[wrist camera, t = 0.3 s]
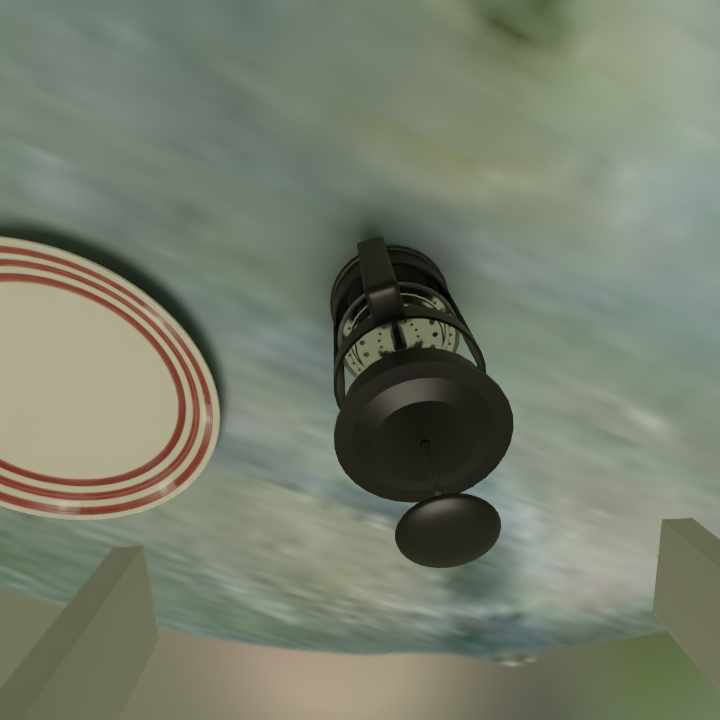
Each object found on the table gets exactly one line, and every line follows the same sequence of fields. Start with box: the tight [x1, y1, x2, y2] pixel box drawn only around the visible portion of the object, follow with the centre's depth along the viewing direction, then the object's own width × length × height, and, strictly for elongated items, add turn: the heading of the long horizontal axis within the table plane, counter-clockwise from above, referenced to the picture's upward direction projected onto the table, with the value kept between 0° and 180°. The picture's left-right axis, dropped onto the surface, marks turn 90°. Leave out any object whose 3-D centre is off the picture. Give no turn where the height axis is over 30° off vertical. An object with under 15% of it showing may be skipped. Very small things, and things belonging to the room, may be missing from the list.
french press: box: [330, 236, 513, 568], centre depth 28 cm, size 12×9×23 cm
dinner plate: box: [0, 236, 220, 520], centre depth 40 cm, size 27×27×3 cm
